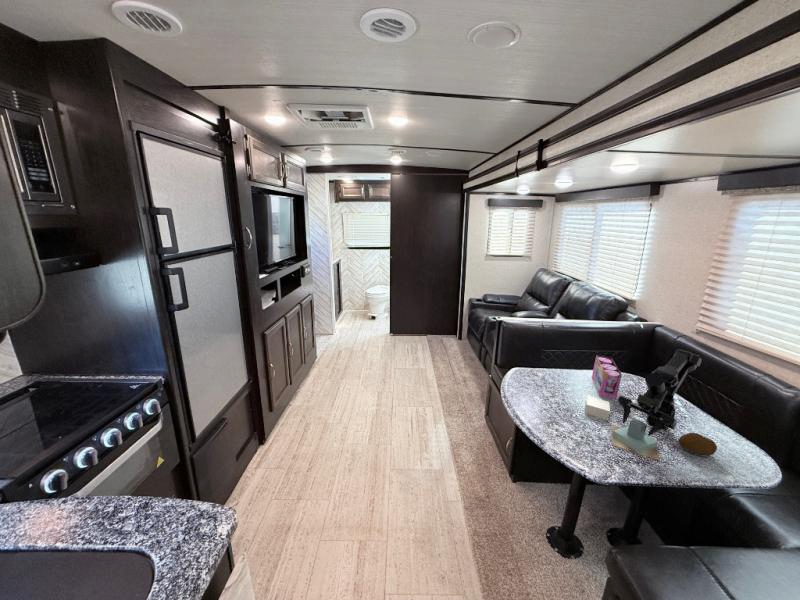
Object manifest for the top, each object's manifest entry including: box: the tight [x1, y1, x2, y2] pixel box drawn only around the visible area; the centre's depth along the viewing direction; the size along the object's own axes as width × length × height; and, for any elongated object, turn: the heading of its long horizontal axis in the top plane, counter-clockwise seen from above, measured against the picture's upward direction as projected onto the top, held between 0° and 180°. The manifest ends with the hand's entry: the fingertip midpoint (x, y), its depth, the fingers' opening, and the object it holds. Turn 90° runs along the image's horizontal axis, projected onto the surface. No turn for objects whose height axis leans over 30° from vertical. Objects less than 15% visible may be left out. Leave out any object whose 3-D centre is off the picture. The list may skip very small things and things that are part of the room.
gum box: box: [591, 355, 623, 400], centre depth 166 cm, size 24×8×14 cm, turn 158°
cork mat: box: [610, 424, 661, 462], centre depth 126 cm, size 15×15×1 cm
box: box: [584, 395, 611, 421], centre depth 145 cm, size 9×9×4 cm
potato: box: [677, 432, 718, 457], centre depth 121 cm, size 8×12×8 cm, turn 87°
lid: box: [612, 418, 659, 455], centre depth 125 cm, size 11×11×8 cm
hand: (635, 429), depth 123 cm, fingers open, 8 cm apart
